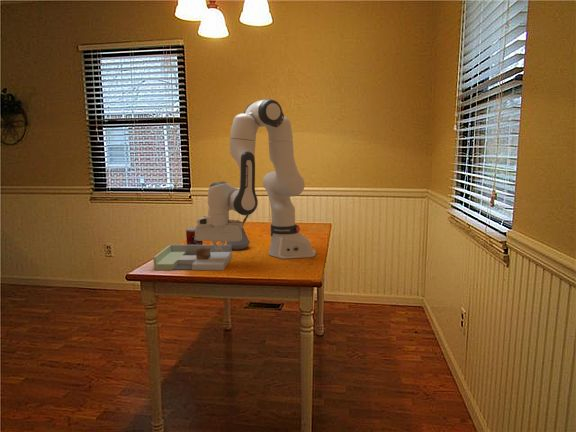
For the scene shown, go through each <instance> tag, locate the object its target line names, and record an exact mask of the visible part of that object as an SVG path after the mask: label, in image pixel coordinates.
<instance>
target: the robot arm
mask: <svg viewBox="0 0 576 432" xmlns="http://www.w3.org/2000/svg"><path fill="white" fill-rule="evenodd" d="M260 127H264V128H265V129H266V131H267V134H268V140H267V141H268V152H269V153H268V154H269V160H270V161H271V163H272V165H273V167H274V171H270V172H268V173H266V174H265V175H264V177H263V179H262V185H263V188H264V189H265V191H266V192H267V196H268V199H269V203H270V204H269V205H270V211H271V214H270V215H271V224H270V230H269V231H270V236H271V238H270V245H269V251H268V255H269V256H271V257H274V258H275V257H276V258H279V259H281V260H283V259H284V260H286V259H287V260H288V259H303V258H304V259H306V258H314V257H316V255H317V254H316V249H314V248H313V247H312V245H311V241H310V239H309V238H307V236H305V235H304V234H302V233H301V227H300V225H299V224H296V208H295V206H294V204H293V203H292V200H291V198H292V197H296V196H297V197H298V196H299V195H301V194H302V193H303V192H304V190H305V184H306V183H305V180H304V178H303V177H302V176H301V174H300V172H299V169H298V167H297V164H296V159H295V155H294V151H295V150H294V141H293V140H294V138H293V131H292V130H293V129H292V124H291V121H290V119H289V118H288V117H287V116H285V114H284V112H283V109H282V106H281V105H280V103H279V102H278V101H277V100H275V99H270V98H266V99H260V100H257V101H255V102H252V103H250V104H249V105H247V107H246V108H245V109H244V111H243V113H238V114H236V115H235V116H234V118H233V121H232V124H231V127H230V133H229V134H230V135H229V153H230V156H231V158H233V160H235V162H236V164H237V166H238V169H239V188H238V187H235V186H233V185H230V183H228V182H226V181H216V182H212V183H210V185H209V187H208V190H207V205H208V211H207V215H205V216H202V217H201V216H200V218H197V221H196V223H197V225H196V226H195V227H196V229H195V239H196V240H197V241H203V242H212V244H211V245H214V247H215V251H222V247H223V245H225V243H226V242H227V241H234V242H240V241H241V240H242V228H243V229H244V225H243V224H242V222H243V221H241V220H240V219H235V220H234V219H230V218H229V217H230V213H229V212H230V211H234V212H236V213H238V214H239V215H241V216H247V215H249V216H251V215H252V214H253V213H254V212H255V211H256V210H257V208H258V205H259V204H258V203H259V202H258V201H259V200H258V198H257V194H256V160H255V159H256V158H255V157H256V156H255V155H256V153H255V152H256V142H257V132H258V130H259V128H260ZM239 222H240V223H239ZM217 242H220V245H221V246H217V245H218V244H216V243H217Z"/></svg>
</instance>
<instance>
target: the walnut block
mask: <svg viewBox="0 0 576 432" xmlns="http://www.w3.org/2000/svg"><path fill="white" fill-rule="evenodd" d="M210 256H211V255H210V247H199V248H198V249H197V250H196V258H197V259H209V257H210Z"/></svg>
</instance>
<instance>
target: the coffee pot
mask: <svg viewBox="0 0 576 432" xmlns="http://www.w3.org/2000/svg"><path fill="white" fill-rule="evenodd" d="M248 218H251V215H245V217H244V218H243V220H242V221H241V222H242V224H243V226H244V225H245V222H246V221H247V219H248ZM239 223H240V222H239ZM226 245H231V249H232V251H233V250H234V251H239V250H241V251H242V250H245V249H247V248H248V246H249V245H250V240H249V238H248V235H247V233H246V231H245V229H244V227H243V228H242V240H241V241H240V242H234V241H226Z"/></svg>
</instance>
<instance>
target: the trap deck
mask: <svg viewBox="0 0 576 432" xmlns="http://www.w3.org/2000/svg"><path fill="white" fill-rule="evenodd" d="M216 245H217V246H221V245H222V244H216ZM199 247H210V255H211V256H210V257H209V259H197V258H196V250H197V249H198V248H199ZM232 251H233V250H232V249H231V245H227V244H224V245H223V247H222V251H215V247H214V245H213V244H203V245H187V244H169V245H167V246H166V247H165V248H163V249H162V250H161V251H159V252H158V253H157V254H155V255H154V256H153V257H152V259H153V260H152V261H153V271H224V270H225V269H226V266H227V265H228V264H229V261H230V260H231V258H232V256H233V255H232V254H233V253H232Z"/></svg>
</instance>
